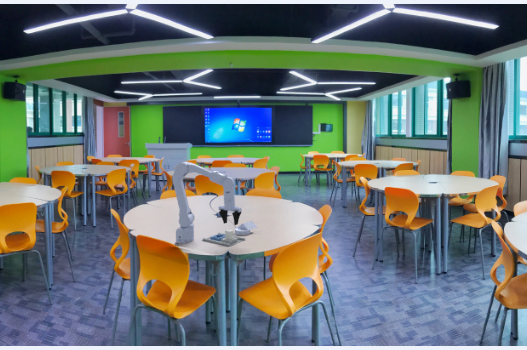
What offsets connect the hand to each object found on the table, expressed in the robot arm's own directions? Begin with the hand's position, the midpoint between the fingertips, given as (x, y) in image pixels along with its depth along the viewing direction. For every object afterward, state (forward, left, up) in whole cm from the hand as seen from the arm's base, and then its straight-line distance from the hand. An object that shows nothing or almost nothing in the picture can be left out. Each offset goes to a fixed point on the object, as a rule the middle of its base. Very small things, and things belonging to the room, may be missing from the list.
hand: (230, 223), depth 188 cm
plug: (-2, 0, -9) cm, 9 cm away
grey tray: (-2, +4, -10) cm, 11 cm away
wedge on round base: (+17, +4, -11) cm, 21 cm away
